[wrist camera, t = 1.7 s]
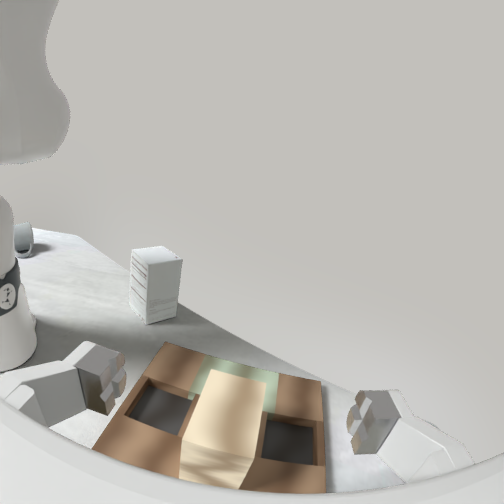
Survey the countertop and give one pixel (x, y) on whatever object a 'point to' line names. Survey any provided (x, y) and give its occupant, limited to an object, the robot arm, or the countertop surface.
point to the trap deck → (182, 407)
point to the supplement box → (154, 283)
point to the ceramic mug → (23, 239)
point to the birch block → (222, 431)
